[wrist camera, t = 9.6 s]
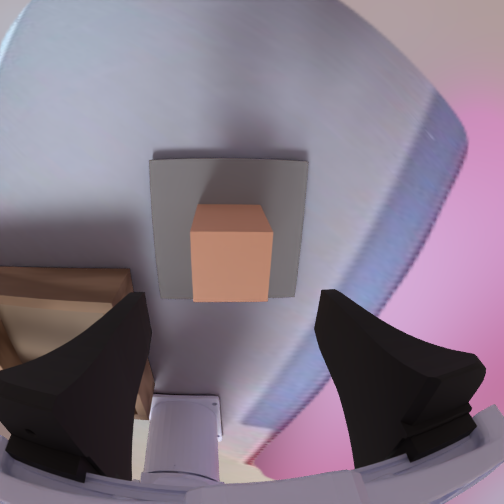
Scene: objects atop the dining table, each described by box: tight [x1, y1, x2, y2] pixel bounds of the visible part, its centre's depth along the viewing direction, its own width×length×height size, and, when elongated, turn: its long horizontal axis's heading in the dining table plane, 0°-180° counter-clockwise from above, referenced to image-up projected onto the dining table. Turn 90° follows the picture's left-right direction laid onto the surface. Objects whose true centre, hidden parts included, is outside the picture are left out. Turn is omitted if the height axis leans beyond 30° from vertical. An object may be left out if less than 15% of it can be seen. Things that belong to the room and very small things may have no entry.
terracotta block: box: [190, 204, 273, 302], centre depth 17 cm, size 4×4×5 cm
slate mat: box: [149, 158, 308, 299], centre depth 20 cm, size 10×10×1 cm
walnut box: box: [0, 267, 155, 420], centre depth 20 cm, size 13×16×4 cm
